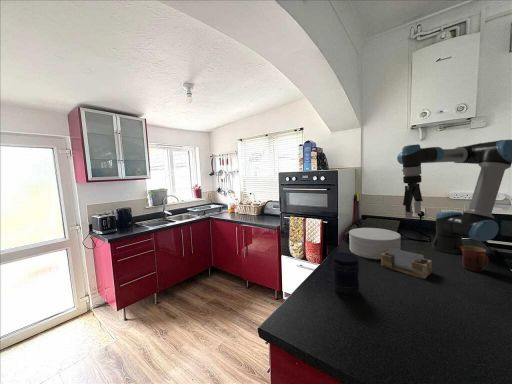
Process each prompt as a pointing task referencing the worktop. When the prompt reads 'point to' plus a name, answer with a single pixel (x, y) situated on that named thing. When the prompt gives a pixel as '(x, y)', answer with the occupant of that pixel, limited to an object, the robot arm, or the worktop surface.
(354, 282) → the storage jar
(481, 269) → the mug
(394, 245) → the plate stack
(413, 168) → the robot arm
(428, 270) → the posts
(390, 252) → the grey block
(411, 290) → the worktop surface
